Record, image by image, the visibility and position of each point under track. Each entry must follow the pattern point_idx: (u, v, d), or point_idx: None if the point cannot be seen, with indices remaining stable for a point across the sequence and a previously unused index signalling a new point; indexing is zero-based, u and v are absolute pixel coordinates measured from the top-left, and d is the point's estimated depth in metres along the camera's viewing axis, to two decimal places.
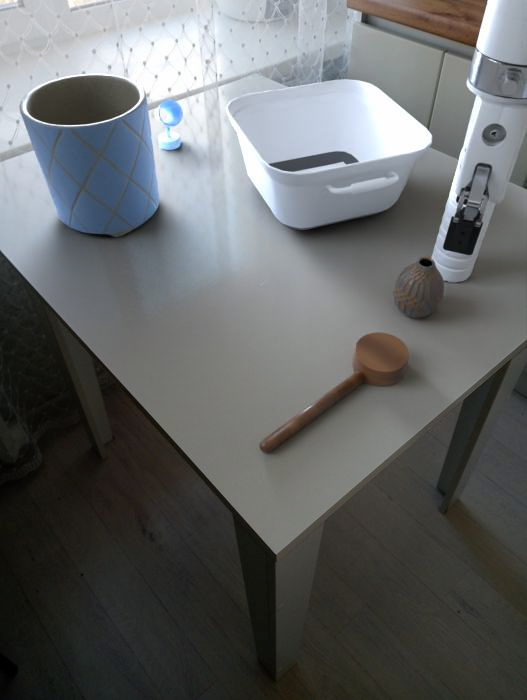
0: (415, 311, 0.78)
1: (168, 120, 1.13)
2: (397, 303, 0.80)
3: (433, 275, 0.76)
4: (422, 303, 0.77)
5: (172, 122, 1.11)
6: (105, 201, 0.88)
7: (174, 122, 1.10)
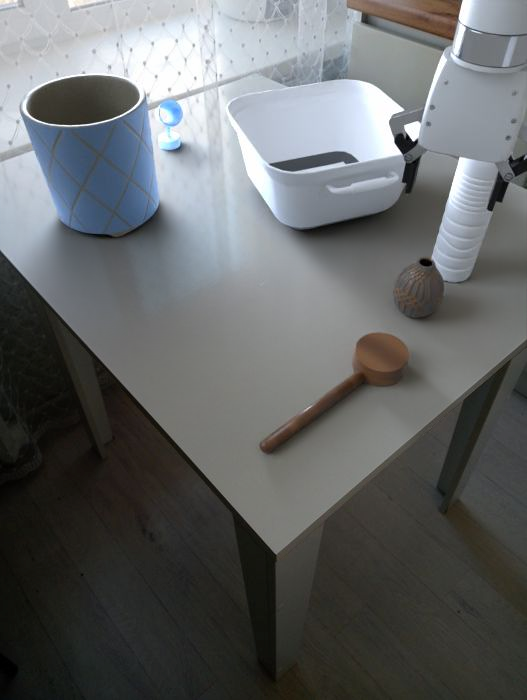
0: (415, 311, 0.78)
1: (168, 120, 1.13)
2: (397, 303, 0.80)
3: (433, 275, 0.76)
4: (422, 303, 0.77)
5: (172, 122, 1.11)
6: (105, 201, 0.88)
7: (174, 122, 1.10)
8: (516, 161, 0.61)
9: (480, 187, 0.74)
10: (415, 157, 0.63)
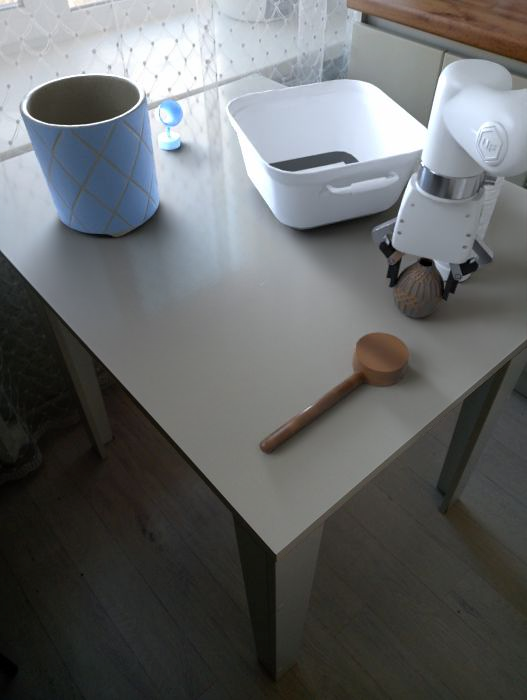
0: (415, 311, 0.78)
1: (168, 120, 1.13)
2: (397, 303, 0.80)
3: (433, 275, 0.76)
4: (422, 303, 0.77)
5: (172, 122, 1.11)
6: (105, 201, 0.88)
7: (174, 122, 1.10)
8: (463, 263, 0.74)
9: None
10: (397, 261, 0.76)
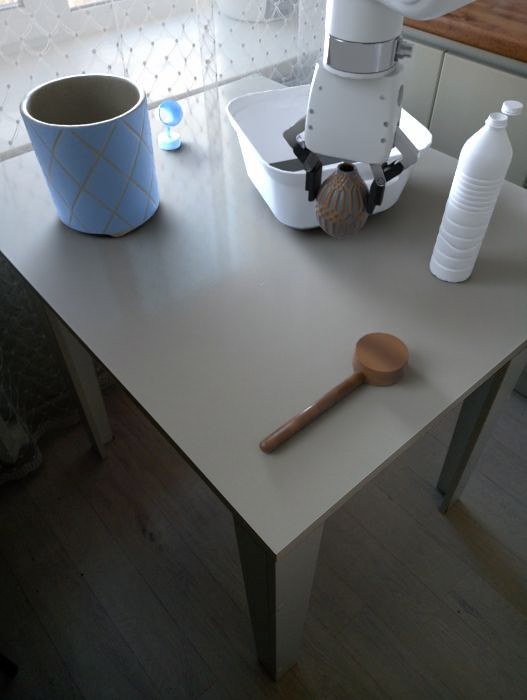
0: (337, 226, 0.68)
1: (168, 120, 1.13)
2: (318, 219, 0.70)
3: (355, 183, 0.66)
4: (343, 215, 0.67)
5: (172, 122, 1.11)
6: (105, 201, 0.88)
7: (174, 122, 1.10)
8: (387, 166, 0.64)
9: (480, 187, 0.74)
10: (313, 166, 0.66)
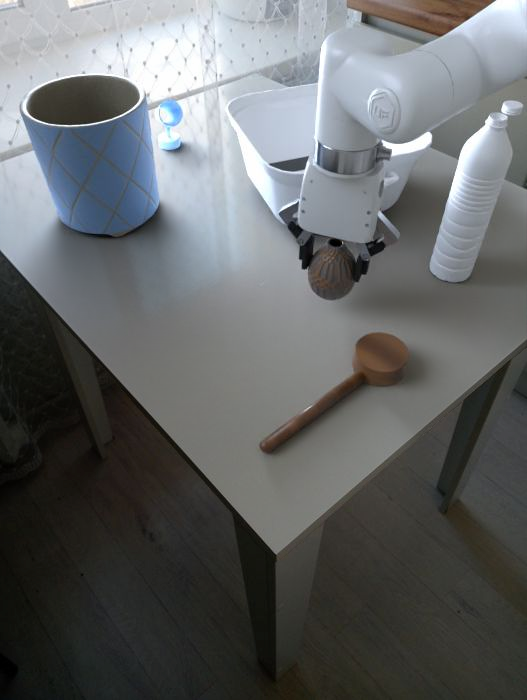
0: (328, 292, 0.76)
1: (168, 120, 1.13)
2: (310, 285, 0.78)
3: (343, 256, 0.74)
4: (332, 284, 0.75)
5: (172, 122, 1.11)
6: (105, 201, 0.88)
7: (174, 122, 1.10)
8: (372, 243, 0.72)
9: (480, 187, 0.74)
10: (306, 241, 0.74)
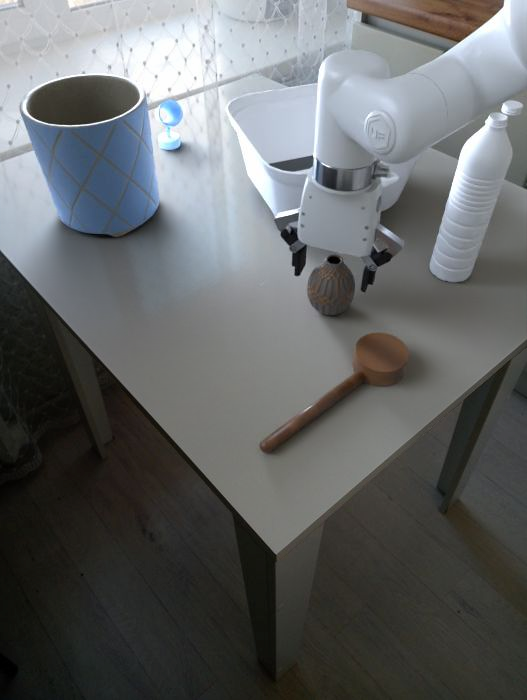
0: (326, 308, 0.79)
1: (168, 120, 1.13)
2: (310, 300, 0.80)
3: (341, 273, 0.76)
4: (331, 300, 0.77)
5: (172, 122, 1.11)
6: (105, 201, 0.88)
7: (174, 122, 1.10)
8: (378, 254, 0.73)
9: (480, 187, 0.74)
10: (298, 248, 0.75)
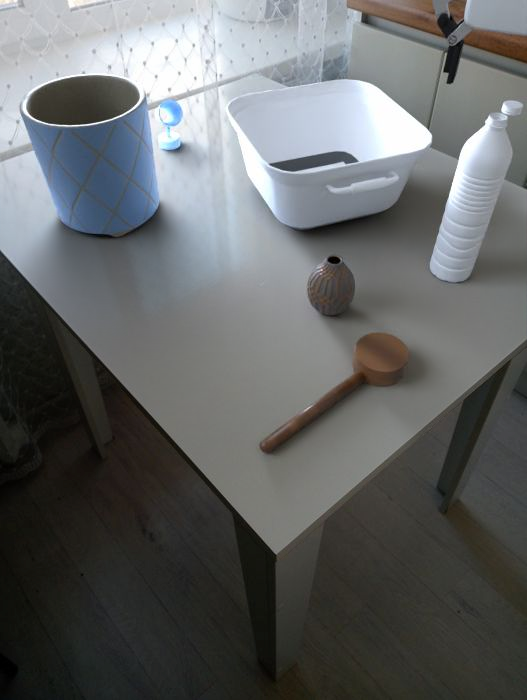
0: (326, 308, 0.79)
1: (168, 120, 1.13)
2: (310, 300, 0.80)
3: (341, 273, 0.76)
4: (331, 300, 0.77)
5: (172, 122, 1.11)
6: (105, 201, 0.88)
7: (174, 122, 1.10)
8: None
9: (480, 187, 0.74)
10: (460, 38, 0.60)
